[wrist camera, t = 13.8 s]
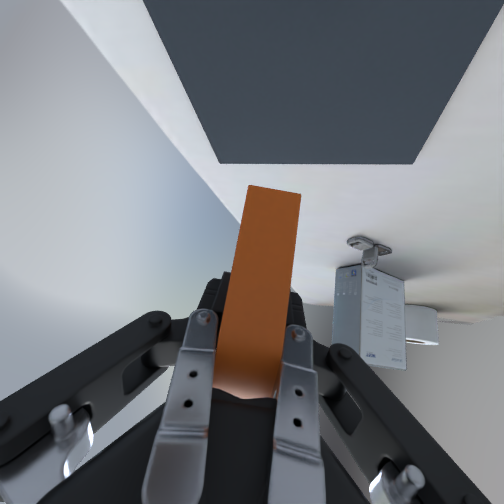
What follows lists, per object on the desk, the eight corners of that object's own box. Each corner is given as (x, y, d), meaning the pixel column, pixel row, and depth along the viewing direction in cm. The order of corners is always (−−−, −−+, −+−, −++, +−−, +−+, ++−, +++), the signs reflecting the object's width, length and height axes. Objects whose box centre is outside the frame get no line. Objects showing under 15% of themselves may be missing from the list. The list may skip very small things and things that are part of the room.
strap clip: (345, 239, 45) (343, 262, 43) (359, 234, 42) (358, 259, 41) (378, 253, 48) (378, 275, 47) (393, 250, 45) (393, 273, 44)
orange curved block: (248, 184, 11) (203, 413, 9) (301, 193, 11) (274, 426, 9) (244, 234, 17) (216, 382, 14) (279, 241, 17) (258, 390, 14)
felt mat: (560, -109, 10) (563, -101, 10) (412, 159, 25) (412, 164, 25) (137, -24, 15) (134, -18, 15) (220, 159, 30) (219, 163, 30)
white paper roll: (382, 302, 87) (382, 335, 83) (438, 306, 79) (440, 343, 75) (386, 310, 99) (386, 340, 95) (435, 314, 91) (437, 346, 87)
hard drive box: (334, 268, 60) (328, 358, 54) (362, 262, 54) (359, 364, 48) (376, 284, 67) (375, 366, 61) (406, 281, 61) (408, 372, 54)
